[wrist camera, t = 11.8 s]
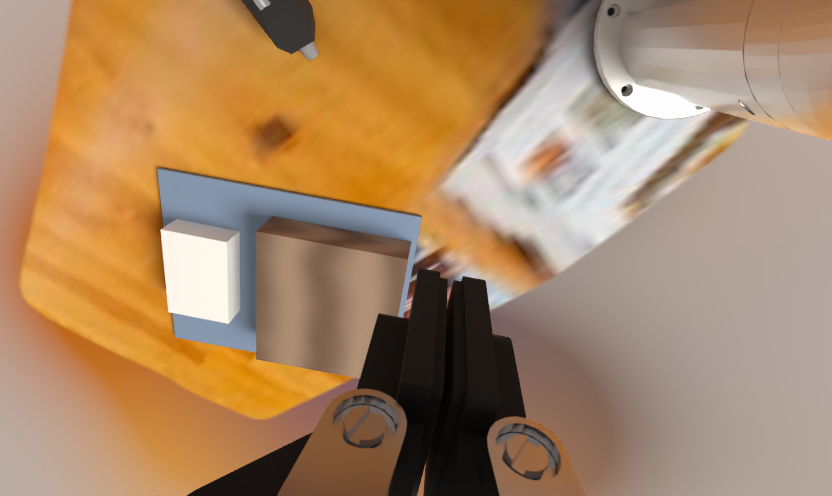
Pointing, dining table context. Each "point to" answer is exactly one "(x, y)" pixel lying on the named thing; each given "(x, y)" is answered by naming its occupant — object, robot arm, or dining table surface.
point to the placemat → (247, 214)
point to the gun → (287, 24)
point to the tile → (202, 270)
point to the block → (323, 293)
